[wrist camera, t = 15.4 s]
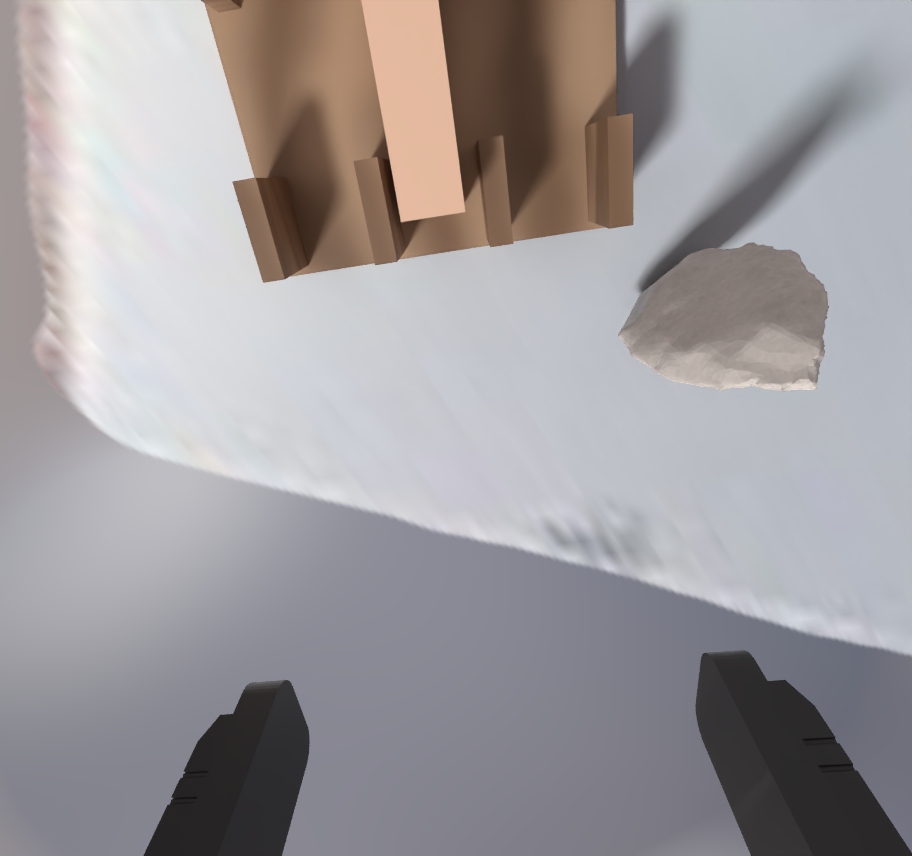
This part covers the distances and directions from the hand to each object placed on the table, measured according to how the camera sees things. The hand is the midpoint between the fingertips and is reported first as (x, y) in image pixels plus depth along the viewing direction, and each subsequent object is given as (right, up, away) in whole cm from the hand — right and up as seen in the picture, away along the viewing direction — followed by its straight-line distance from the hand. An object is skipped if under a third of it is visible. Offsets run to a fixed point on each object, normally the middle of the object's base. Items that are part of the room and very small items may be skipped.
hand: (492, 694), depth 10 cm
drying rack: (-3, +25, +19) cm, 32 cm away
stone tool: (+13, +15, +24) cm, 31 cm away
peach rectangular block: (-3, +25, +18) cm, 31 cm away
